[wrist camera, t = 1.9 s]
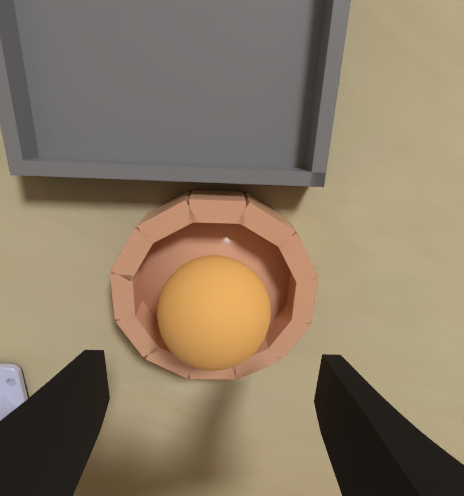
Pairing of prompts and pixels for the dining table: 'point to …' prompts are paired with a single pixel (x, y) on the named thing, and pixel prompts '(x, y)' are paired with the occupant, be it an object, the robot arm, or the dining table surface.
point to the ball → (213, 312)
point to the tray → (171, 88)
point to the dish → (204, 244)
